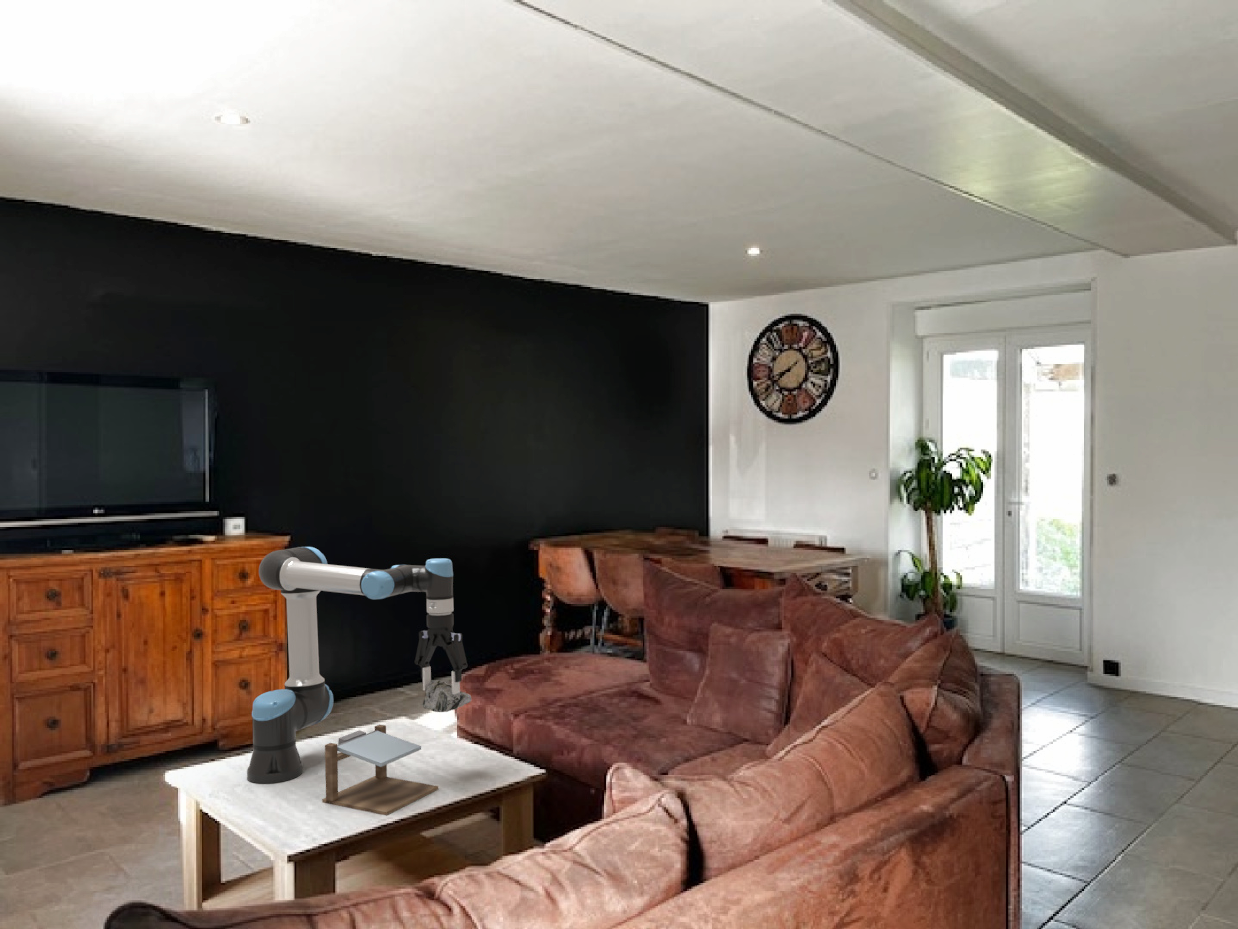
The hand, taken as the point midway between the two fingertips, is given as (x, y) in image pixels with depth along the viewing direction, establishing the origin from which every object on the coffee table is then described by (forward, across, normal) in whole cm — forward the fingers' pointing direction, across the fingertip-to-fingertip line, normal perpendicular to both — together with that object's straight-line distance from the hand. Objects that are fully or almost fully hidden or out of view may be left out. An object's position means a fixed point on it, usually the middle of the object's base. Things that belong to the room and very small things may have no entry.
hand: (441, 691), depth 266 cm
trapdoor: (+12, -8, -19) cm, 24 cm away
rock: (+5, 0, +2) cm, 5 cm away
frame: (+25, -6, -19) cm, 32 cm away
